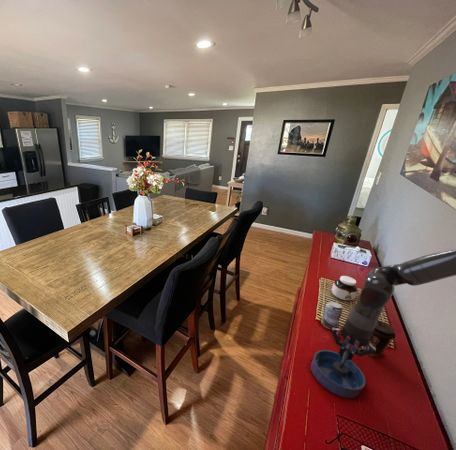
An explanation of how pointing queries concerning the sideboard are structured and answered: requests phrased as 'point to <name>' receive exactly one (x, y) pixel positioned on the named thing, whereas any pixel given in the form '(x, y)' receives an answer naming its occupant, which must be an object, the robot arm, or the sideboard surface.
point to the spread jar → (344, 288)
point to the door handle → (342, 363)
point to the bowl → (334, 383)
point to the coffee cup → (381, 337)
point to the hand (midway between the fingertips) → (344, 356)
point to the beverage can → (331, 315)
